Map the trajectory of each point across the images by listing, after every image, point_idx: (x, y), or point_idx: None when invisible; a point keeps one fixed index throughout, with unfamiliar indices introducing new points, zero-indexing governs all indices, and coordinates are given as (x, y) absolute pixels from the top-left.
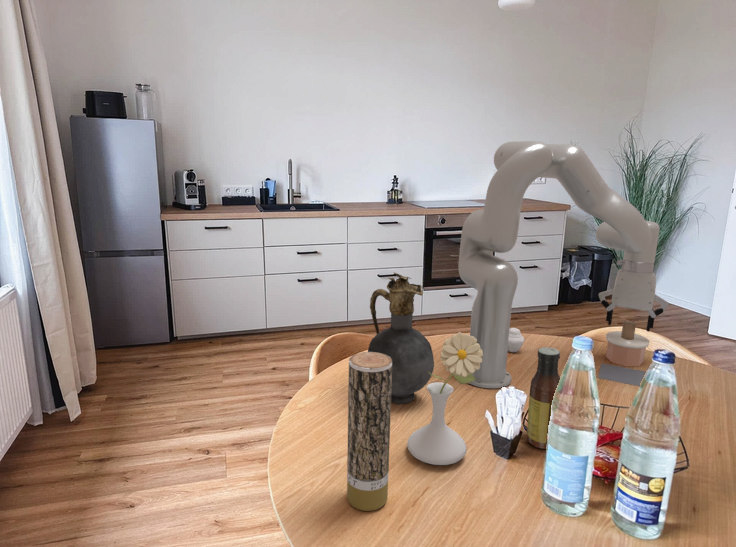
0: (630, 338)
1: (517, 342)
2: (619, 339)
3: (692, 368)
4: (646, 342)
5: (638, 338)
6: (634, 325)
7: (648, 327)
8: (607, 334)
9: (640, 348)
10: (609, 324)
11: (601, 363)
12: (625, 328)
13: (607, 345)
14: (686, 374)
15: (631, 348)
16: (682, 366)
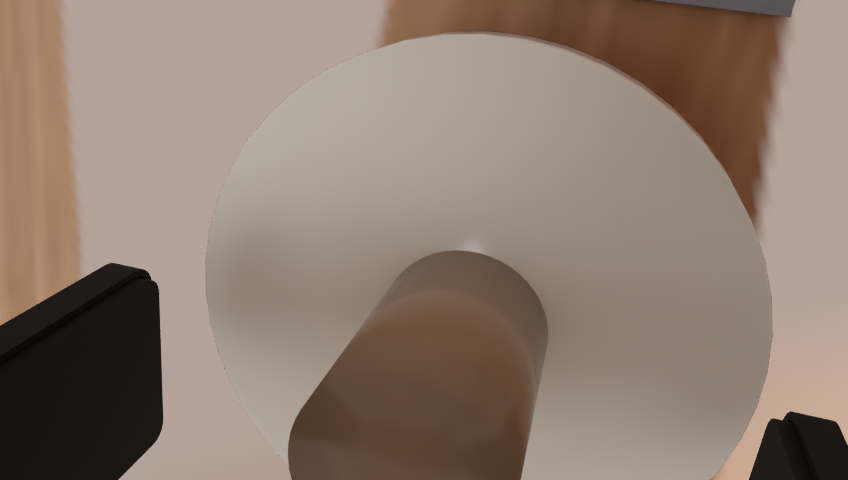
0: (427, 262)
1: None
2: (588, 222)
3: (5, 246)
4: (234, 219)
5: (324, 349)
6: (322, 383)
7: (90, 294)
8: (743, 393)
9: None
10: (806, 415)
11: (790, 6)
12: (489, 349)
13: None
14: (34, 92)
15: None
16: (66, 264)
